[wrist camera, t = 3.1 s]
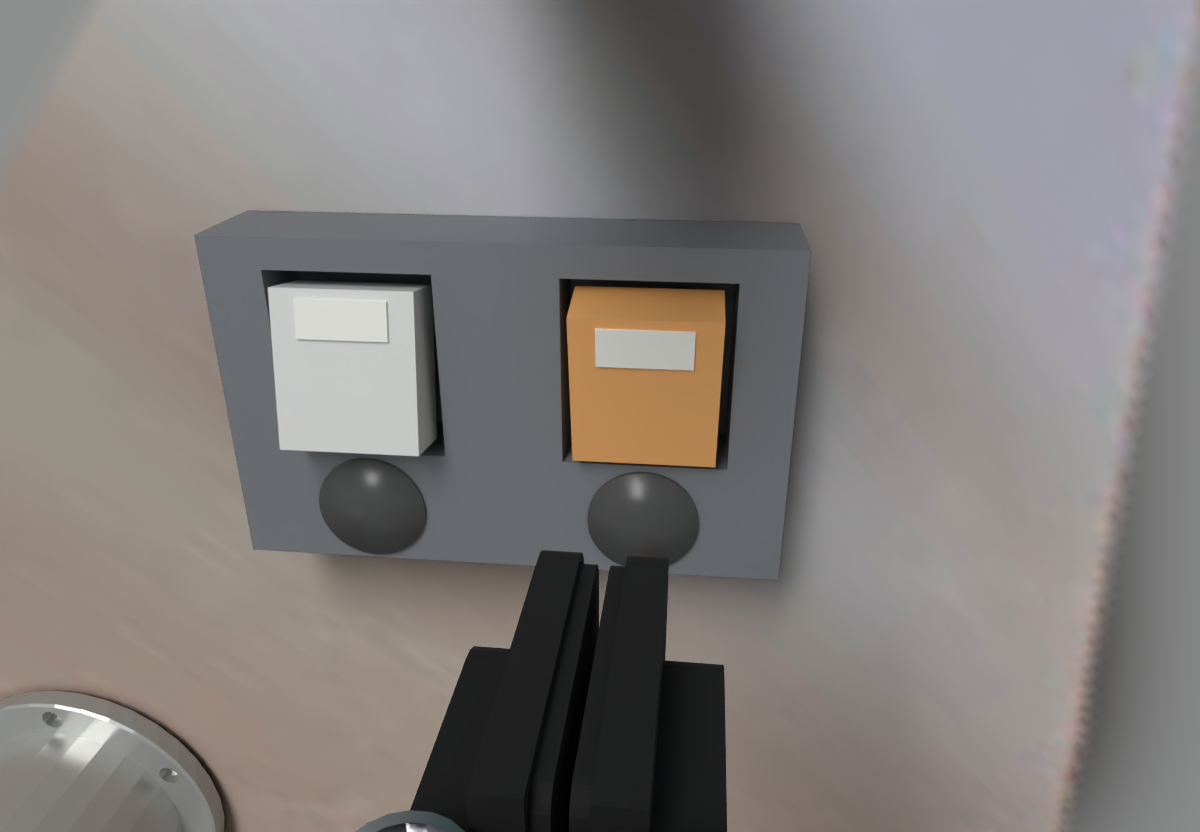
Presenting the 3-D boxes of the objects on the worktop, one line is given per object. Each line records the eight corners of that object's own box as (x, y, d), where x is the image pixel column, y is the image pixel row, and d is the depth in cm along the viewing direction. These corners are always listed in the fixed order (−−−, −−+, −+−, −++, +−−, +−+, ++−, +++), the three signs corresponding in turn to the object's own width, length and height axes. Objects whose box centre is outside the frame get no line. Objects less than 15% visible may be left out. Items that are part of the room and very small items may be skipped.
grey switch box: (770, 524, 33) (778, 582, 29) (294, 499, 34) (251, 551, 31) (798, 223, 28) (811, 252, 25) (247, 210, 30) (191, 236, 27)
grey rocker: (436, 438, 29) (417, 457, 27) (306, 432, 30) (278, 450, 28) (432, 284, 28) (412, 292, 26) (296, 280, 28) (266, 287, 26)
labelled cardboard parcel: (714, 429, 29) (715, 469, 27) (579, 423, 30) (572, 462, 28) (724, 290, 26) (725, 324, 25) (575, 285, 27) (565, 319, 25)
